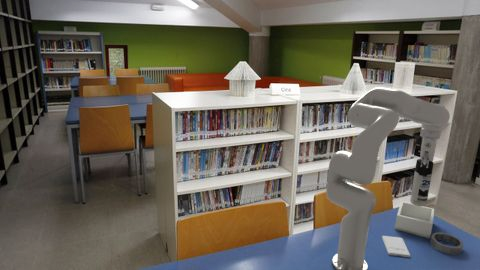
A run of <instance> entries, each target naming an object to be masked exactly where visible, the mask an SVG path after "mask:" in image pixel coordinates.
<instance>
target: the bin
mask: <svg viewBox="0 0 480 270" xmlns="http://www.w3.org/2000/svg"><path fill="white" fill-rule="evenodd" d="M434 213H435V208H432V207H429V206H416V205H414V204H412V203H411V202H406V201H403V200H401V201H400V204H399V208H398V210H397V215H396V218H395V219H396V220H395V223H394V224H395V225H394V230H396V231H400V232H404V233H407V234H411V235H416V236H418V237H422V238H426V239H430V240H431V236H432V230H433V224H434V215H435V214H434Z"/></svg>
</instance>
